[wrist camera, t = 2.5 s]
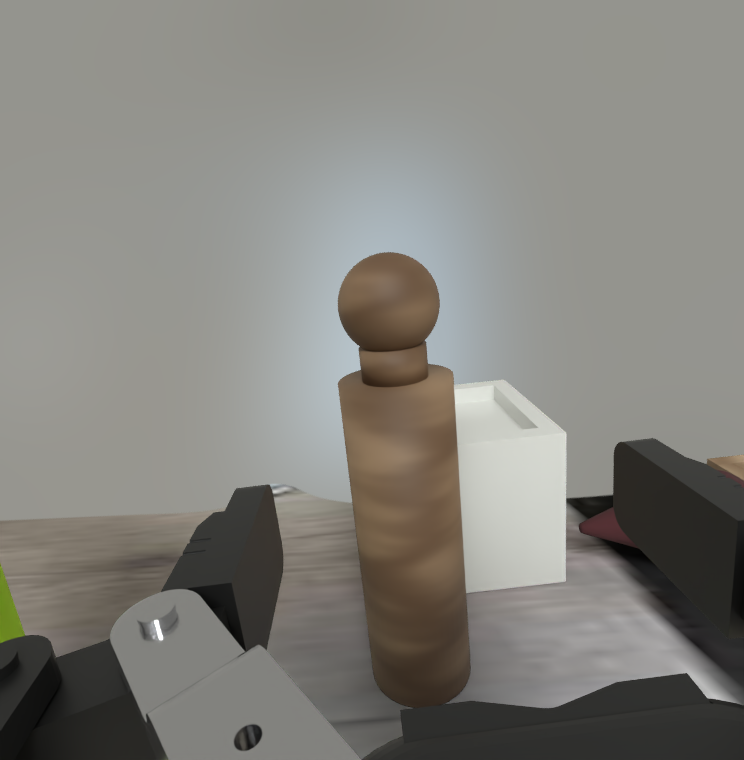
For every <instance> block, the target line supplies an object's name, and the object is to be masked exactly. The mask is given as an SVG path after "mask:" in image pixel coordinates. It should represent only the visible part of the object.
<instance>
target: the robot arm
mask: <svg viewBox="0 0 744 760" xmlns="http://www.w3.org/2000/svg"><path fill="white" fill-rule="evenodd" d="M613 489H614V493H613V507H614V513H615V517H616V520H617V522H618V525H619V526H620V528H621V530H622V531H623V532H624V533H625V534H626V535H627V536H628V537H629V539H630V540H631V541H632V542H633V543H634V544H635V545H636V546H637V547H638V548H639V549H640V550H641V551H642V552H643V553H644V554H645V555H646V556H647V557H648V558H649V559H650V560H651V561H652V562H653V563H654V564H655V565H656V566H657V567H658V568H659V569H660V570H661V571H662V572H663V573H664V574H665V575H666V576H667V577H668V578H669V579H670V580H671V581H672V582H673V583H674V584H675V585H676V586H677V587H678V588H679V589H680V591H681V592H682V593H683V594H684V595H685V596H686V597H687V598H688V599H689V600H690V601H691V602H692V603H693V604H694V605H695V606H696V607H697V608H698V609H699V610H700V611H701V612H702V613H703V614H704V615H705V616H706V617H707V618H708V619H709V620H710V621H711V622H712V623H713V624H714V625H715V626H716V627H717V628H718V629H719V630H720V631H721V632H722V633H723V634H724V635H725V636H726V637H727V638H728V639H734V638H742V637H744V487H743V488H742V485H741V484H739V483H738V482H736V481H734V480H733V479H731V478H726V475H724V474H722V473H721V472H719V471H717V470H716V469H714V468H712V467H711V466H709V465H707V464H704V463H701V462H698V461H695V460H692V459H689V458H686V457H684V456H683V455H681V454H679V453H678V452H676V451H674V450H673V449H671V448H669V447H668V446H666V445H664V444H663V443H661V442H659V441H658V440H656V439H653V438H651V439H643V440H635V441H627V442H620V443H618V444H617V446H616V447H615V450H614V488H613ZM282 573H283V549H282V542H281V536H280V531H279V525H278V520H277V514H276V508H275V503H274V497H273V493H272V489H271V487H270V485H261V486H253V487H245V488H237V489H236V490H235V491H234V493H233V495H232V497H231V500H230V502H229V504H228V506H227V508H226V510H225V511H223V512H215V513H213V514H212V515H210V516H209V517H208V518H207V519H206V520H205V521H203V522H202V523H201V524H200V525H199V526H198V527H197V528H196V530H195V532H194V534H193V535H192V537H191V539H190V543H189V544H187V546H186V548H185V550H184V552H183V556H181V557H180V559H179V560H178V562H177V564H176V566H175V568H174V569H173V571H172V573H171V575H170V576H169V578H168V580H167V582H166V584H165V585H164V587H163V589H162V591H161V592H160V593H157V594H154V595H152V596H149V597H147V598H145V599H143V600H141V601H139V602H138V603H136V604H135V605H133V606H132V607H130V608H129V609H128V610H126V611H125V612H124V613H123V614H122V615H121V616H120V617H119V618H118V620H117V621H116V622H115V624H114V626H113V627H112V630H111V633H110V639H108V640H106V641H103V642H101V643H98V644H95V645H92V646H90V647H87V648H84V649H81V650H78V651H75V652H72V653H69V654H66V655H63V656H60V657H57V658H56V657H55V654H54V651H53V648H52V645H51V642H50V641H49V640H48V639H47V638H45V637H43V636H39V635H29V636H22V637H17V638H13V639H10V640H7V641H4V642H2V643H0V760H361V759H360V757H359V756H358V755H357V754H356V753H355V752H354V751H353V749H352V748H351V747H350V746H349V745H348V744H347V743H346V741H345V740H344V739H343V738H342V737H341V736H340V734H339V733H338V732H337V731H336V730H335V729H334V728H333V726H332V725H331V724H330V723H329V722H328V721H327V720H326V718H325V717H324V716H323V715H322V714H321V713H320V711H319V710H318V709H317V708H316V707H315V706H314V705H313V703H312V702H311V701H310V700H309V699H308V698H307V697H306V695H305V694H304V693H303V692H302V691H301V690H300V688H299V687H298V686H297V685H296V684H295V683H294V682H293V680H292V679H291V678H290V677H289V676H288V675H287V674H286V672H285V671H284V670H283V669H282V668H281V667H280V665H279V664H278V663H277V662H276V661H275V660H274V659H273V657H272V656H271V655H270V654H269V653H268V652H267V651H266V649H267V644H268V640H269V635H270V630H271V626H272V621H273V616H274V611H275V607H276V602H277V597H278V593H279V588H280V583H281V578H282ZM400 712H401V721H402V730H403V736H402V737H400V738H397V739H395V740H393V741H390V742H388V743H387V744H385V745H383V746H381V747H380V748H378V749H376V750H374V751H373V752H371V753H370V754H369V755H367V756H366V757H365V758H363V759H362V760H744V706H743V705H740V704H736V703H731V702H726V701H721V700H716V699H707V698H706V696H705V695H704V694H703V693H702V691H701V690H700V689H699V688H698V686H697V685H696V684H695V683H694V681H693V680H692V679H691V678H690V676H689V675H688V674H687V673H685V674H677V675H669V676H661V677H654V678H646V679H638V680H630V681H623V682H616V683H614V684H611V685H609V686H607V687H604V688H602V689H599V690H597V691H595V692H592V693H590V694H587V695H585V696H583V697H580V698H578V699H575V700H573V701H571V702H568V703H566V704H563V705H561V706H558V707H555V708H535V707H525V706H515V705H506V704H496V703H486V702H476V701H467V702H459V703H452V704H444V705H436V706H428V707H421V708H413V709H405V710H400Z"/></svg>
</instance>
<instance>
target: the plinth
mask: <svg viewBox="0 0 744 760" xmlns="http://www.w3.org/2000/svg"><path fill="white" fill-rule="evenodd" d="M454 395H455V412H456V429H457V446H458V463H459V480H460V498H461V515H462V532H463V549H464V566H465V583H466V593H473V592H482V591H490V590H499V589H508V588H516V587H525V586H533V585H542V584H551V583H559V582H566V432H565V431H564V430H562V429H561V428H560V427H559V426H558V425H556V424H555V423H554V422H553V421H552V420H551V419H550V418H548V417H547V416H546V415H545V414H544V413H543V412H541V411H540V410H539V409H538V408H537V407H536V406H534V405H533V404H532V403H531V402H530V401H529V400H527V399H526V398H525V397H524V396H523V395H521V394H520V393H519V392H518V391H517V390H516V389H514V388H513V387H512V386H511V385H510V384H509V383H507V382H506V381H505V380H497V381H488V382H478V383H470V384H460V385H454Z"/></svg>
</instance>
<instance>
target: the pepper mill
mask: <svg viewBox="0 0 744 760" xmlns="http://www.w3.org/2000/svg"><path fill="white" fill-rule="evenodd" d="M439 301H440V300H439V293H438V289H437V286H436V283H435V281H434V279H433V277H432V276H431V274H430V273H429V272H428V270H427V269H426V268H425V267H424V266H423V265H422V264H420V263H419V262H418V261H416V260H414V259H413V258H411V257H409V256H406V255H403V254H399V253H391V252H390V253H389V252H388V253H379V254H375V255H372V256H369V257H367V258H365V259H363V260H362V261H360V262H359V263H358V264H356V265H355V266H354V267H353V268H352V269H351V271H349V273H348V274H347V276H346V277H345V279H344V281H343V283H342V285H341V288H340V291H339V296H338V312H339V316H340V320H341V323H342V325H343V327H344V329H345V331H346V332H347V334H348V336H349V337H350V338H351V339H352V340H353V341H354V342H355V343H356V344H357V345H359V346H360V347H359V356H360V366H361V370H360V371H357V372H354V373H351V374H349V375H347V376H345V377H343V378H342V379H341V380H340V381H339V382H338V388H339V396H340V404H341V412H342V421H343V429H344V437H345V445H346V454H347V461H348V470H349V478H350V486H351V494H352V503H353V511H354V519H355V527H356V535H357V543H358V551H359V560H360V568H361V576H362V584H363V592H364V600H365V609H366V617H367V625H368V633H369V641H370V649H371V658H372V666H373V673H374V678H375V681H376V683H377V685H378V686H379V688H380V689H381V691H382V692H383V693H384V694H385V695H386V696H388V697H389V698H390V699H392V700H393V701H395V702H397V703H399V704H402V705H405V706H408V707H414V708H421V707H428V706H436V705H442V704H444V703H446V702H448V701H450V700H452V699H453V698H454V697H456V696H457V695H458V694H459V693H460V692H461V691H462V690H463V688H464V687H465V685H466V684H467V681H468V679H469V675H470V652H469V635H468V617H467V600H466V583H465V566H464V549H463V532H462V515H461V498H460V480H459V463H458V446H457V429H456V412H455V395H454V378H453V372H452V371H451V370H450V369H448V368H446V367H443V366H439V365H431V364H428V362H427V348H426V342H425V341H424V340H425V339H426V338H427V337H428V336H429V334H430V333H431V331H432V330H433V328H434V326H435V324H436V321H437V318H438V314H439V307H440V303H439Z"/></svg>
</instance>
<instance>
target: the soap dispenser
mask: <svg viewBox="0 0 744 760" xmlns="http://www.w3.org/2000/svg"><path fill="white" fill-rule="evenodd" d="M22 636H25V634H24V631H23V628H22V625H21V622H20V619H19V616H18V613H17V611H16V608H15V605H14V602H13V599H12V596H11V593H10V590H9V587H8V584H7V581H6V578H5V576H4V573H3V570H2V567H1V564H0V643H2V642H4V641H7V640H10V639H13V638H17V637H22Z"/></svg>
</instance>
